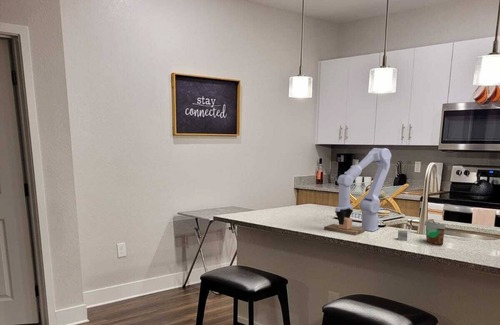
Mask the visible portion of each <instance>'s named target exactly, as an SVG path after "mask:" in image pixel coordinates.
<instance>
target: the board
mask: <svg viewBox="0 0 500 325" xmlns="http://www.w3.org/2000/svg"><path fill="white" fill-rule="evenodd" d="M323 230H325V231H330V232H336V233H341V234H346V235H352V236H358V235H360V234H363V233H365V230H364V229H360V227H353V226H352V228H350V229H342V228H339V224H336V223H331V224H329V225H325V226H324V227H323Z"/></svg>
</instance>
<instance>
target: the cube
mask: <svg viewBox="0 0 500 325" xmlns="http://www.w3.org/2000/svg"><path fill="white" fill-rule="evenodd" d="M338 225H339V228H342V229H350V228H352V227H353V218H351V217H350V218H347V217H344V223H343V225H341V224H339V223H338Z"/></svg>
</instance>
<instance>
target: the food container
mask: <svg viewBox="0 0 500 325" xmlns="http://www.w3.org/2000/svg"><path fill="white" fill-rule="evenodd" d="M434 220H435V219H433V218H431V219H426V220H425V221H424V223H423V224H424V226H425V235H426V236H425V237H426V243H428V244H429V245H435V246H442V245H443V246H444V236H445V230H446V225H445V223H443V224H442V223H440V222H437V221H434Z"/></svg>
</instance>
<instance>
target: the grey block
mask: <svg viewBox="0 0 500 325" xmlns="http://www.w3.org/2000/svg"><path fill="white" fill-rule="evenodd" d="M397 240H398V241H403V242H407V241H408V231H407V230H399V229H398V230H397Z"/></svg>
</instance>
